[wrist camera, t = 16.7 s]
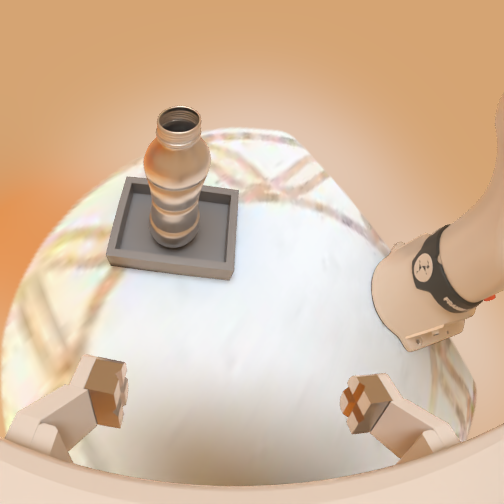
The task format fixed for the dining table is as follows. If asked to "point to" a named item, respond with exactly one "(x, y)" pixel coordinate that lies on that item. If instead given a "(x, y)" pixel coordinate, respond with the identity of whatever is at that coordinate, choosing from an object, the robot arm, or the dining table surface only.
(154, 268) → the tray
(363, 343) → the dining table surface
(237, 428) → the dining table surface
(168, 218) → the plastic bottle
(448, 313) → the robot arm
